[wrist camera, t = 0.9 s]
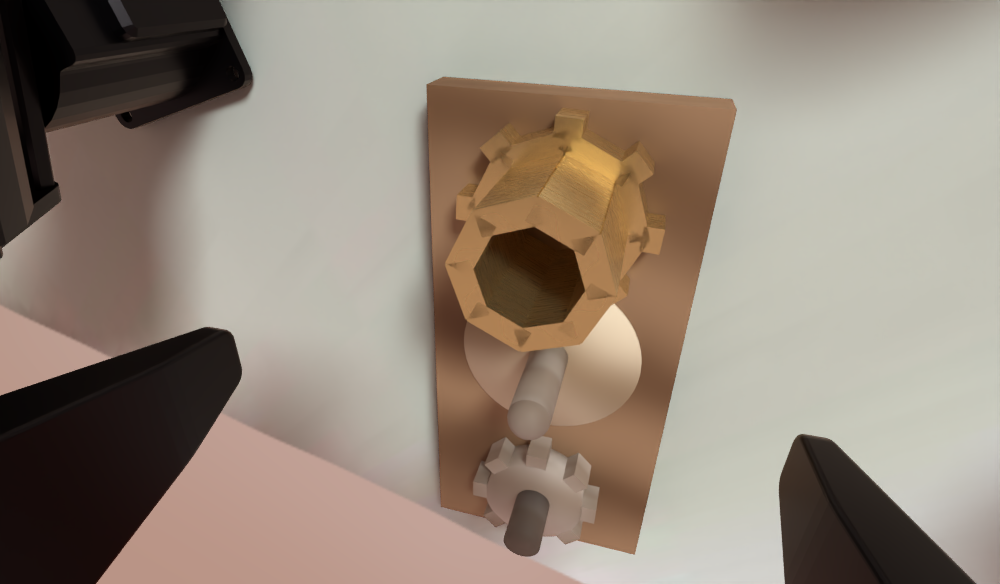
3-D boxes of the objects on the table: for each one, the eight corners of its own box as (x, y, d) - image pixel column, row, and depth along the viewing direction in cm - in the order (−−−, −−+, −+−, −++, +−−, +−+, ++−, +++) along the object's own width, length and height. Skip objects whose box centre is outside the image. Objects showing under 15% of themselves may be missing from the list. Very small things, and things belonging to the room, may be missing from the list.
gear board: (636, 526, 26) (627, 650, 21) (451, 482, 28) (405, 587, 23) (732, 99, 17) (755, 150, 12) (443, 76, 19) (363, 113, 14)
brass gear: (502, 307, 20) (457, 392, 16) (444, 140, 18) (374, 189, 14) (678, 279, 18) (680, 369, 14) (639, 85, 16) (626, 122, 12)
